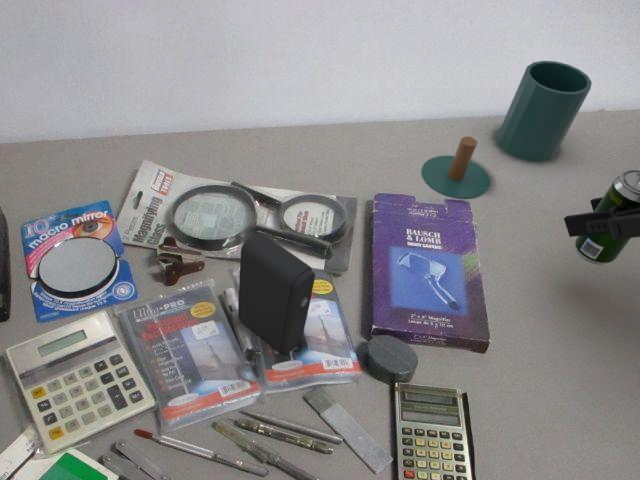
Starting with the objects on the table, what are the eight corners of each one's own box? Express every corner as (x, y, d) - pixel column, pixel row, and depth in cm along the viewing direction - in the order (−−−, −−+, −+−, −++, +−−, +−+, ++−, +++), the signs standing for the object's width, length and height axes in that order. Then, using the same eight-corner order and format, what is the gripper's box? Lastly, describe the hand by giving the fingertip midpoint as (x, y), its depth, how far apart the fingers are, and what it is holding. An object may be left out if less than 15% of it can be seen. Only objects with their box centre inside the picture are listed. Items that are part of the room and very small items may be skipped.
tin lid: (479, 162, 105) (496, 122, 99) (494, 205, 98) (513, 165, 92) (415, 158, 106) (428, 118, 99) (425, 200, 98) (439, 160, 92)
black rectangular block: (305, 345, 79) (321, 267, 67) (285, 362, 77) (298, 286, 65) (255, 306, 82) (262, 227, 71) (235, 322, 81) (239, 243, 69)
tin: (544, 132, 112) (579, 62, 101) (561, 167, 105) (600, 95, 95) (489, 129, 112) (519, 59, 101) (502, 163, 106) (535, 92, 95)
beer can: (606, 272, 78) (658, 203, 69) (566, 253, 80) (611, 182, 71) (620, 251, 81) (672, 181, 71) (581, 232, 83) (626, 162, 74)
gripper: (772, 260, 56) (548, 271, 77) (850, 188, 63) (626, 217, 84) (753, 186, 54) (531, 218, 75) (836, 121, 62) (612, 167, 82)
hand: (581, 217), depth 79 cm, fingers closed on beer can, 5 cm apart
